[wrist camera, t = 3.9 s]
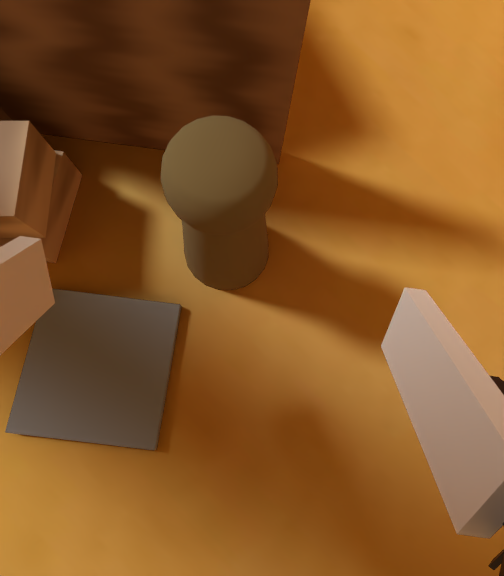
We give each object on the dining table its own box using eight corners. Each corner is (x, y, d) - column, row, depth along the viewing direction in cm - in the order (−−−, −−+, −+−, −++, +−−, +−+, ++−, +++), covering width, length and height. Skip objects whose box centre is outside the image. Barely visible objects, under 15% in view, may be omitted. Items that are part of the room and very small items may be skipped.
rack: (-39, 257, 23) (-592, 28, 8) (10, 116, 26) (-323, -259, 11) (263, 294, 23) (313, 145, 8) (280, 150, 26) (340, -168, 11)
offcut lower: (1, 256, 24) (-32, 240, 21) (31, 169, 25) (4, 142, 22) (57, 264, 24) (32, 249, 21) (83, 176, 25) (63, 151, 22)
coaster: (11, 430, 21) (5, 432, 20) (50, 289, 23) (45, 287, 22) (157, 448, 21) (154, 450, 20) (181, 306, 23) (180, 304, 22)
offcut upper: (-21, 238, 21) (-64, 216, 18) (-6, 153, 22) (-43, 120, 19) (45, 237, 21) (14, 216, 18) (56, 153, 22) (29, 120, 20)
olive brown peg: (243, 305, 23) (248, 249, 13) (168, 265, 24) (111, 178, 13) (283, 234, 25) (317, 129, 14) (211, 197, 25) (191, 68, 14)
